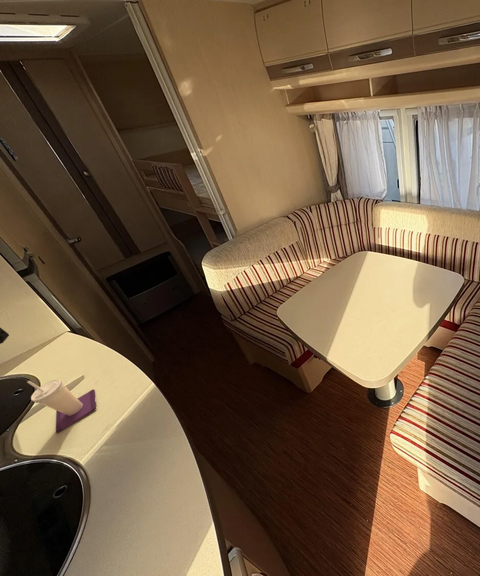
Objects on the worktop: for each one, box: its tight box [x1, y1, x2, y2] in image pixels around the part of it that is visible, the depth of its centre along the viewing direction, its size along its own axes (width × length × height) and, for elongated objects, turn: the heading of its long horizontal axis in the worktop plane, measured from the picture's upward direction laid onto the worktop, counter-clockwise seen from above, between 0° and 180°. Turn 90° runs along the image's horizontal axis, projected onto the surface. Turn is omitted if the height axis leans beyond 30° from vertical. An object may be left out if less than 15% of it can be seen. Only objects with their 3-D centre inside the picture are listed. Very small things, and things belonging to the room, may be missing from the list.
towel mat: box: [55, 388, 97, 434], centre depth 86 cm, size 9×9×1 cm
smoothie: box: [26, 378, 83, 416], centre depth 81 cm, size 6×6×14 cm
